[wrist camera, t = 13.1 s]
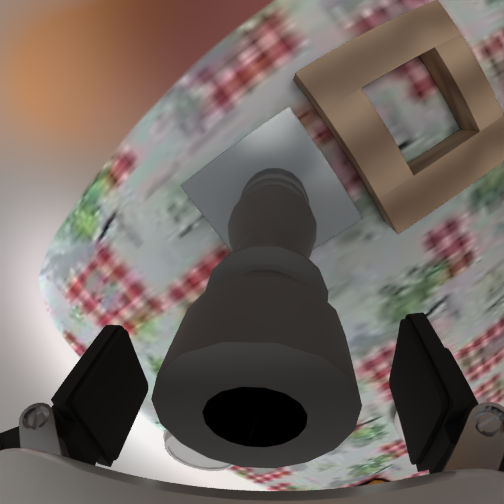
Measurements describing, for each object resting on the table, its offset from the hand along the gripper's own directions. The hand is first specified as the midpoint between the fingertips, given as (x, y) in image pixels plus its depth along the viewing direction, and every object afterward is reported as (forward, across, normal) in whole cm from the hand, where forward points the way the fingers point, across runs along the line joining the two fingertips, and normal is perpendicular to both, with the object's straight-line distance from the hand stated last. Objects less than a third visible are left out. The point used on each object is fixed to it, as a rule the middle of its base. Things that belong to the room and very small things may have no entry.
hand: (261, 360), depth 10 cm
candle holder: (+23, 0, 0) cm, 23 cm away
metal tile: (+23, 0, 0) cm, 23 cm away
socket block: (+23, -14, -8) cm, 29 cm away
